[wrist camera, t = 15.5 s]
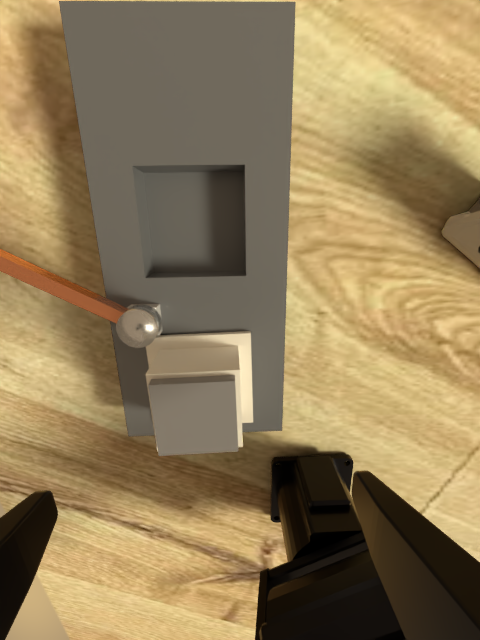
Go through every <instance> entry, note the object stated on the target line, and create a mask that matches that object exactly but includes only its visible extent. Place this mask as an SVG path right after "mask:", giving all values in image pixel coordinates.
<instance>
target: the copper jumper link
mask: <svg viewBox="0 0 480 640" xmlns="http://www.w3.org/2000/svg"><path fill="white" fill-rule="evenodd" d="M0 271H1V272H3V273H6V274H8V275H10V276H12V277H14V278H17V279H19V280H21V281H23V282H26V283H28V284H30V285H32V286H34V287H37V288H39V289H41V290H43V291H45V292H48V293H50V294H52V295H54V296H56V297H59V298H61V299H63V300H65V301H68V302H70V303H72V304H74V305H76V306H79V307H81V308H83V309H85V310H87V311H90V312H92V313H94V314H96V315H98V316H101V317H103V318H105V319H107V320H110V321H112V322H114V323H116V331H117V334H118V336H119V338H120V339H121V340H122V341H123V342H124V343H125V344H126V345H128V346H131V347H134V348H142V347H146V346H148V345H149V344H151V343H152V342H153V341H154V339H155V338H156V336H157V335H158V333H159V332H160V330H161V327H162V320H161V317H160V315H159V313H158V312H157V311H156V310H155V309H154V308H153V307H151V306H148V305H145V304H138V305H135V306H133V307H131V308H130V309H128V308H126V307H124V306H122V305H120V304H117V303H115V302H113V301H111V300H109V299H107V298H105V297H102V296H100V295H98V294H96V293H94V292H92V291H89V290H87V289H85V288H83V287H81V286H79V285H77V284H74V283H72V282H70V281H68V280H66V279H64V278H62V277H59V276H57V275H55V274H53V273H51V272H49V271H46V270H44V269H42V268H40V267H38V266H36V265H34V264H31V263H29V262H27V261H25V260H23V259H21V258H19V257H16V256H14V255H12V254H10V253H8V252H6V251H3V250H1V249H0Z"/></svg>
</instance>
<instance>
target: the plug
mask: <svg viewBox="0 0 480 640" xmlns="http://www.w3.org/2000/svg"><path fill="white" fill-rule="evenodd" d="M146 351H147V358H148V365H149V369H148V371H147V373H146V381H147V388H148V394H149V401H150V408H151V414H152V421H153V427H154V434H155V441H156V447H157V452H158V454H159V456H167V455H185V454H203V453H221V452H238V447H243V434H242V423H253V395H252V359H251V332H250V331H242V332H216V333H195V334H173V335H157V336H156V338H155V339H154V341H153V342H152V343H151V344H149V345H148V346H146Z"/></svg>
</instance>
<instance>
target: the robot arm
mask: <svg viewBox="0 0 480 640" xmlns="http://www.w3.org/2000/svg"><path fill="white" fill-rule="evenodd" d="M345 461H347V462H345ZM278 463H279V465H276V464H278ZM352 469H353V460H352V458H351V457H350V456H349V455H346V454H344V455H319V456H294V457H276V458H274V459H273V460H272V461H271V502H270V516H271V520H272V521H273V522H281V525H282V531H283V537H284V543H285V548H286V554H287V560H288V562H287V563H284V564H282V565H279V566H277V567H274V568H272V569H270V570H269V569H265V570H263V571H261V572H260V583H259V594H258V607H257V621H256V635H255V640H480V562H479V561H477V560H476V559H475V558H474V557H472V556H471V555H470V554H469V553H468V552H466V551H465V550H464V549H463V548H462V547H460V546H459V545H458V544H457V543H456V542H454V541H453V540H452V539H451V538H449V537H448V536H447V535H446V534H445V533H443V532H442V531H441V530H440V529H439V528H437V527H436V526H435V525H434V524H432V523H431V522H430V521H429V520H428V519H426V518H425V517H424V516H423V515H422V514H420V513H419V512H418V511H417V510H416V509H414V508H413V507H412V506H411V505H409V504H408V503H407V502H406V501H405V500H403V499H402V498H401V497H400V496H399V495H397V494H396V493H395V492H394V491H393V490H391V489H390V488H389V487H388V486H386V485H385V484H384V483H383V482H382V481H380V480H379V479H378V478H377V477H376V476H374V475H373V474H372V473H371V472H369V471H356V472H355V473H354V475H353V485H352V497H351V495H350V485H351V477H352ZM352 498H353V499H352ZM57 516H58V510H57V507H56V504H55V500H54V497H53V494H52V492H51V491H37V492H34V493H33V494H31V495H30V496H28V497H27V498H26V499H24V500H23V501H22V502H21V503H19V504H18V505H17V506H15V507H14V508H13V509H11V510H10V511H9V512H7V513H6V514H5V515H3V516H2V517H1V518H0V640H5V639H6V637H7V635H8V632H9V630H10V628H11V626H12V624H13V622H14V620H15V618H16V616H17V614H18V611H19V609H20V607H21V605H22V603H23V601H24V599H25V597H26V595H27V593H28V591H29V589H30V586H31V584H32V582H33V579H34V577H35V575H36V572H37V570H38V567H39V565H40V562H41V559H42V557H43V554H44V552H45V549H46V546H47V544H48V541H49V539H50V536H51V533H52V531H53V528H54V526H55V523H56V520H57Z"/></svg>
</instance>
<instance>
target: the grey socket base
mask: <svg viewBox="0 0 480 640" xmlns="http://www.w3.org/2000/svg"><path fill="white" fill-rule="evenodd" d="M59 4H60V11H61V17H62V23H63V29H64V36H65V42H66V48H67V54H68V61H69V67H70V73H71V79H72V86H73V92H74V98H75V105H76V111H77V117H78V123H79V130H80V136H81V142H82V148H83V155H84V161H85V167H86V173H87V180H88V186H89V192H90V198H91V205H92V211H93V217H94V223H95V230H96V236H97V242H98V249H99V255H100V261H101V267H102V274H103V280H104V286H105V292H106V298H107V299H109V300H111V301H113V302H115V303H117V304H120V305H122V306H124V307H126V308H128V309H130V308H131V307H133V306H135V305H138V304H145V305H148V306H151V307H153V308H154V309H155V310H156V311H157V312H158V313H159V315H160V317H161V320H162V327H161V330H160V332H159V333H158V335H173V334H195V333H216V332H242V331H250V332H251V359H252V395H253V423H242V432H259V431H282V414H283V382H284V350H285V318H286V286H287V254H288V222H289V190H290V158H291V126H292V94H293V62H294V30H295V2H159V1H59ZM110 324H111V330H112V336H113V342H114V349H115V355H116V361H117V367H118V374H119V380H120V386H121V393H122V399H123V405H124V411H125V418H126V424H127V430H128V436H153V435H155V434H154V427H153V421H152V414H151V408H150V401H149V394H148V388H147V381H146V373H147V371H148V369H149V365H148V358H147V351H146V347H142V348H134V347H131V346H128V345H126V344H125V343H124V342H123V341H122V340H121V339H120V338H119V336H118V334H117V331H116V323H114V322H112V321H110Z"/></svg>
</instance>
